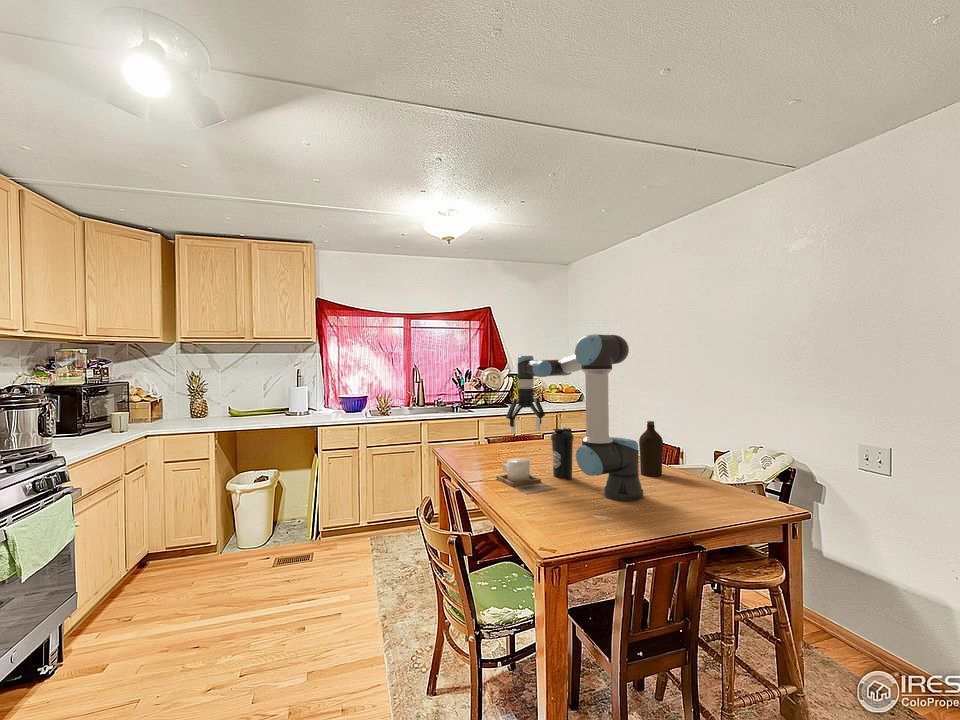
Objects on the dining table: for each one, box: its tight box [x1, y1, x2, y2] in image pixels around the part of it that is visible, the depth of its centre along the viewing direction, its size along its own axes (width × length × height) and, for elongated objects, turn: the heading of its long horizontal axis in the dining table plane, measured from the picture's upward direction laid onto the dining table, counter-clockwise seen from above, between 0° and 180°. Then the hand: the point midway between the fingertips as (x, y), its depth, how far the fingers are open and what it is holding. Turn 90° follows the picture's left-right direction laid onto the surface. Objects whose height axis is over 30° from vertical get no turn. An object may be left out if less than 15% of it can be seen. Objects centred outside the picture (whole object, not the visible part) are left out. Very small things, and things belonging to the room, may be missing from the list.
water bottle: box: [550, 427, 574, 481], centre depth 219 cm, size 10×10×23 cm
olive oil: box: [638, 420, 664, 478], centre depth 223 cm, size 11×11×25 cm
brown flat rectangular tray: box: [496, 474, 558, 495], centre depth 207 cm, size 27×15×2 cm, turn 26°
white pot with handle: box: [501, 457, 531, 483], centre depth 215 cm, size 18×10×9 cm, turn 27°
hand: (525, 432), depth 227 cm, fingers open, 13 cm apart
